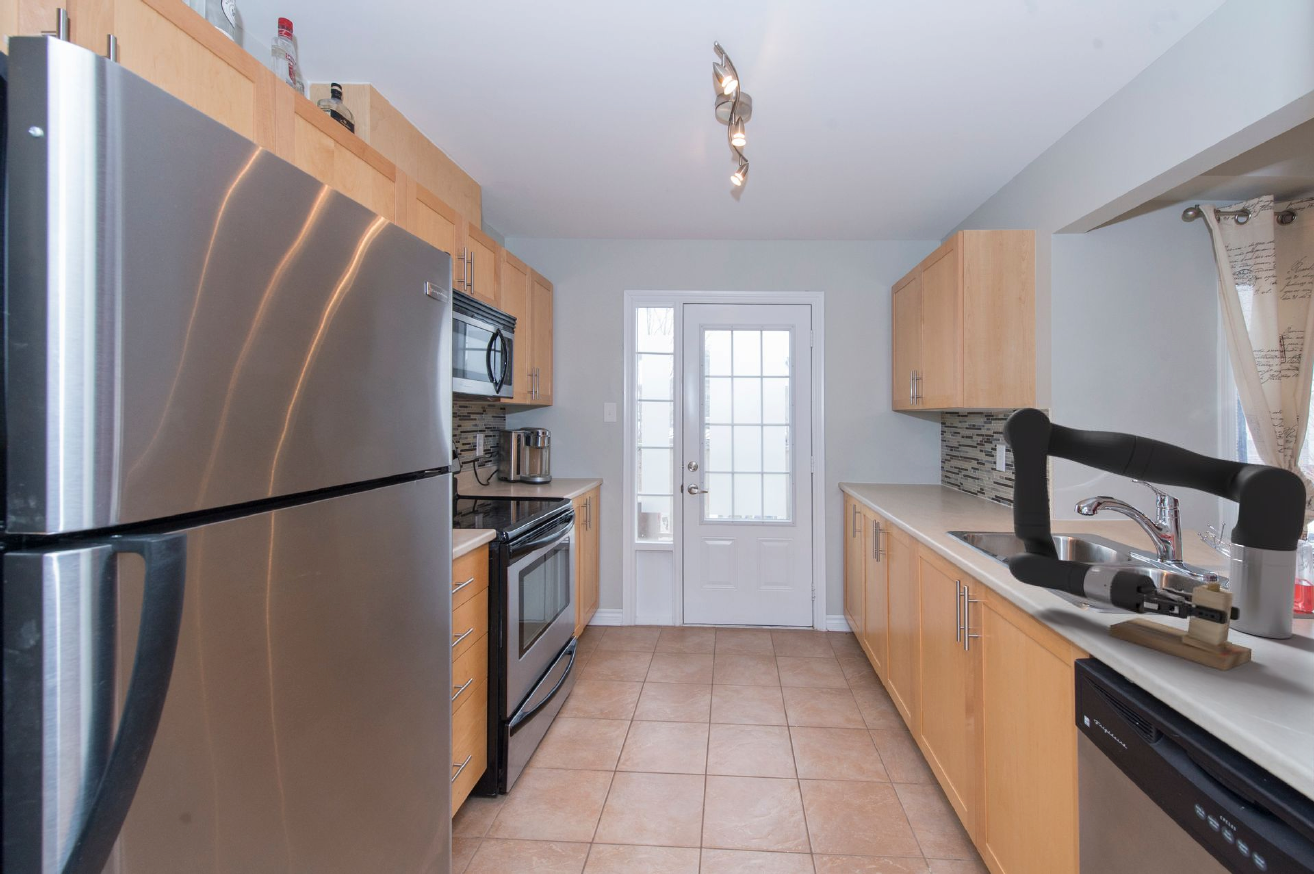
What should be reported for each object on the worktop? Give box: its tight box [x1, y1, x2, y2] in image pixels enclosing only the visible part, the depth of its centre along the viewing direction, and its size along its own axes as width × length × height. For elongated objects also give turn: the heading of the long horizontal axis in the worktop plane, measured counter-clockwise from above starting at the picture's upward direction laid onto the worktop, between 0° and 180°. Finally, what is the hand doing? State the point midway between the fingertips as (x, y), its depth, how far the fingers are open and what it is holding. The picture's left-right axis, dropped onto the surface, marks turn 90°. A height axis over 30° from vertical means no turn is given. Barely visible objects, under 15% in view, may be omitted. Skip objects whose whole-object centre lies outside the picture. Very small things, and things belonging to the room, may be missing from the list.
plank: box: [1109, 617, 1252, 671], centre depth 109 cm, size 10×17×2 cm, turn 26°
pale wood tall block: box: [1182, 581, 1234, 654], centre depth 103 cm, size 5×6×11 cm
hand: (1232, 616), depth 101 cm, fingers closed on pale wood tall block, 4 cm apart
